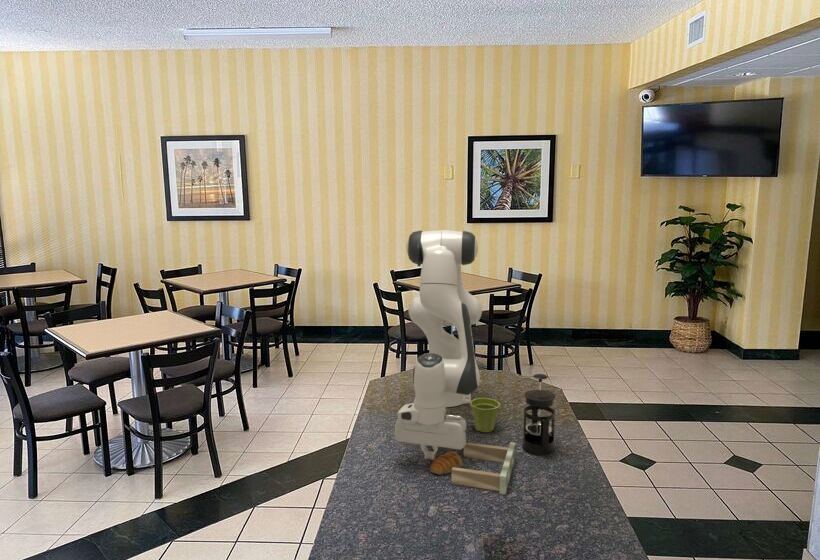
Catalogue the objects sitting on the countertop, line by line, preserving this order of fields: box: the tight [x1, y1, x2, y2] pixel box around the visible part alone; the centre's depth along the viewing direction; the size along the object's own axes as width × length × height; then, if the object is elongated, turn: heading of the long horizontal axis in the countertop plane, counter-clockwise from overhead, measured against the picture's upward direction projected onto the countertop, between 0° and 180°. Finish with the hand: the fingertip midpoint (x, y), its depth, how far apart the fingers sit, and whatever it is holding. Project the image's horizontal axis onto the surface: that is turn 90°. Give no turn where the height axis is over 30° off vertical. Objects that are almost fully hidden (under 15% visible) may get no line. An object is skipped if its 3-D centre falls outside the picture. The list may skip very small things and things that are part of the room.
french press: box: [522, 373, 556, 457], centre depth 175 cm, size 12×9×23 cm
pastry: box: [430, 450, 464, 476], centre depth 166 cm, size 9×7×4 cm
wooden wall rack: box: [451, 441, 516, 495], centre depth 164 cm, size 20×14×5 cm
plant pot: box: [469, 397, 501, 433], centre depth 191 cm, size 9×9×9 cm
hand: (430, 458), depth 168 cm, fingers closed
